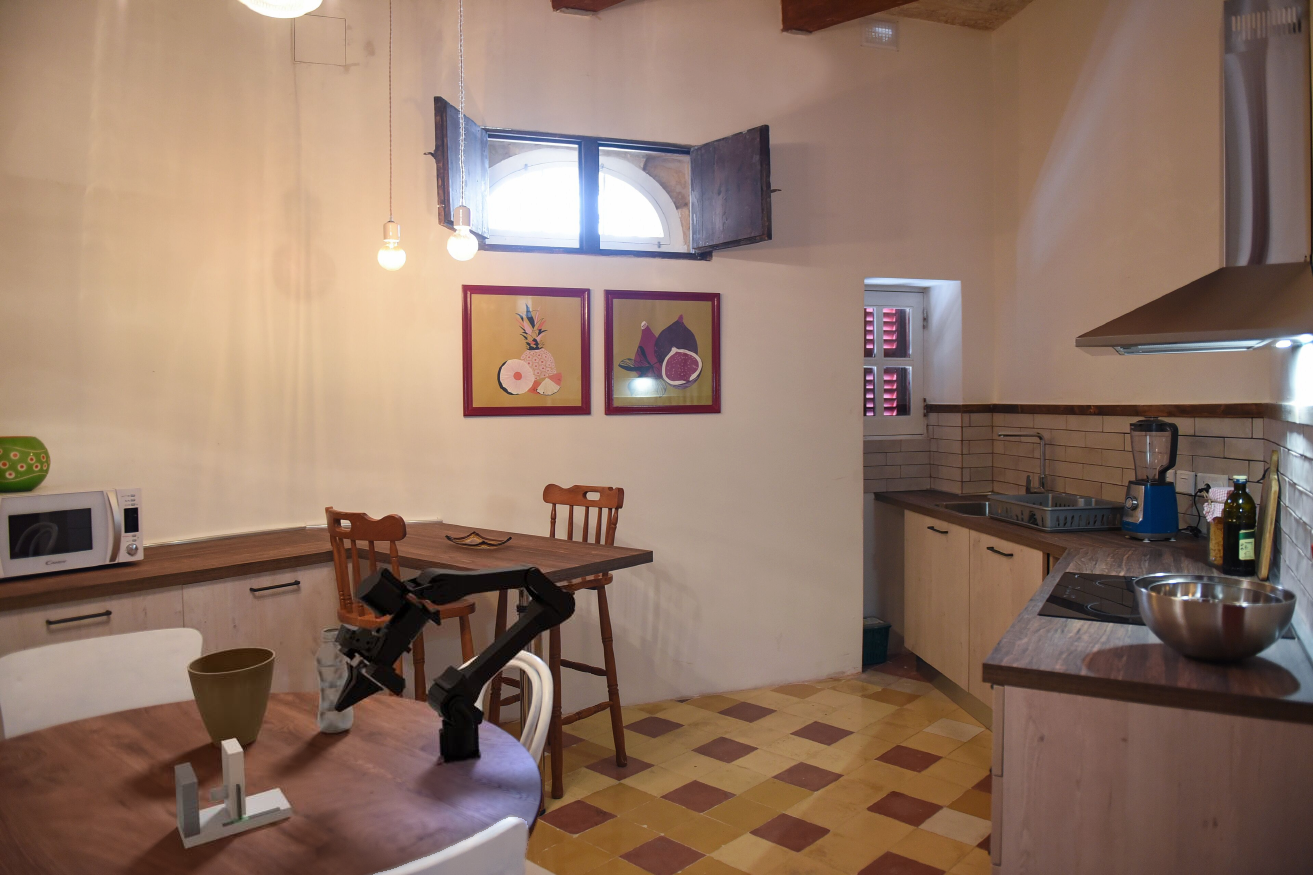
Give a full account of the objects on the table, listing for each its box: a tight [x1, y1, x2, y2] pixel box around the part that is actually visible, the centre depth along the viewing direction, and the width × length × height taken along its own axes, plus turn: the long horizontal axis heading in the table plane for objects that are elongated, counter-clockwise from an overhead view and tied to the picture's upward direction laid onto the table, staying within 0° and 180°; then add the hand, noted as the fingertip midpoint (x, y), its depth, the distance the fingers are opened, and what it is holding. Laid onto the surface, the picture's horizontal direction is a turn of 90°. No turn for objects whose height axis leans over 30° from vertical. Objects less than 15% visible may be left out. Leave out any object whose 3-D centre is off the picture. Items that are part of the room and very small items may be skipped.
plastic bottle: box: [314, 627, 355, 734], centre depth 160 cm, size 6×7×20 cm
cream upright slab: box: [209, 738, 246, 820], centre depth 125 cm, size 4×7×10 cm, turn 37°
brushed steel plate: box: [174, 761, 200, 839], centre depth 122 cm, size 2×8×8 cm, turn 37°
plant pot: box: [186, 646, 276, 749], centre depth 156 cm, size 15×15×16 cm
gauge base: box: [176, 787, 292, 850], centre depth 126 cm, size 14×8×2 cm, turn 127°
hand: (336, 710), depth 135 cm, fingers closed
